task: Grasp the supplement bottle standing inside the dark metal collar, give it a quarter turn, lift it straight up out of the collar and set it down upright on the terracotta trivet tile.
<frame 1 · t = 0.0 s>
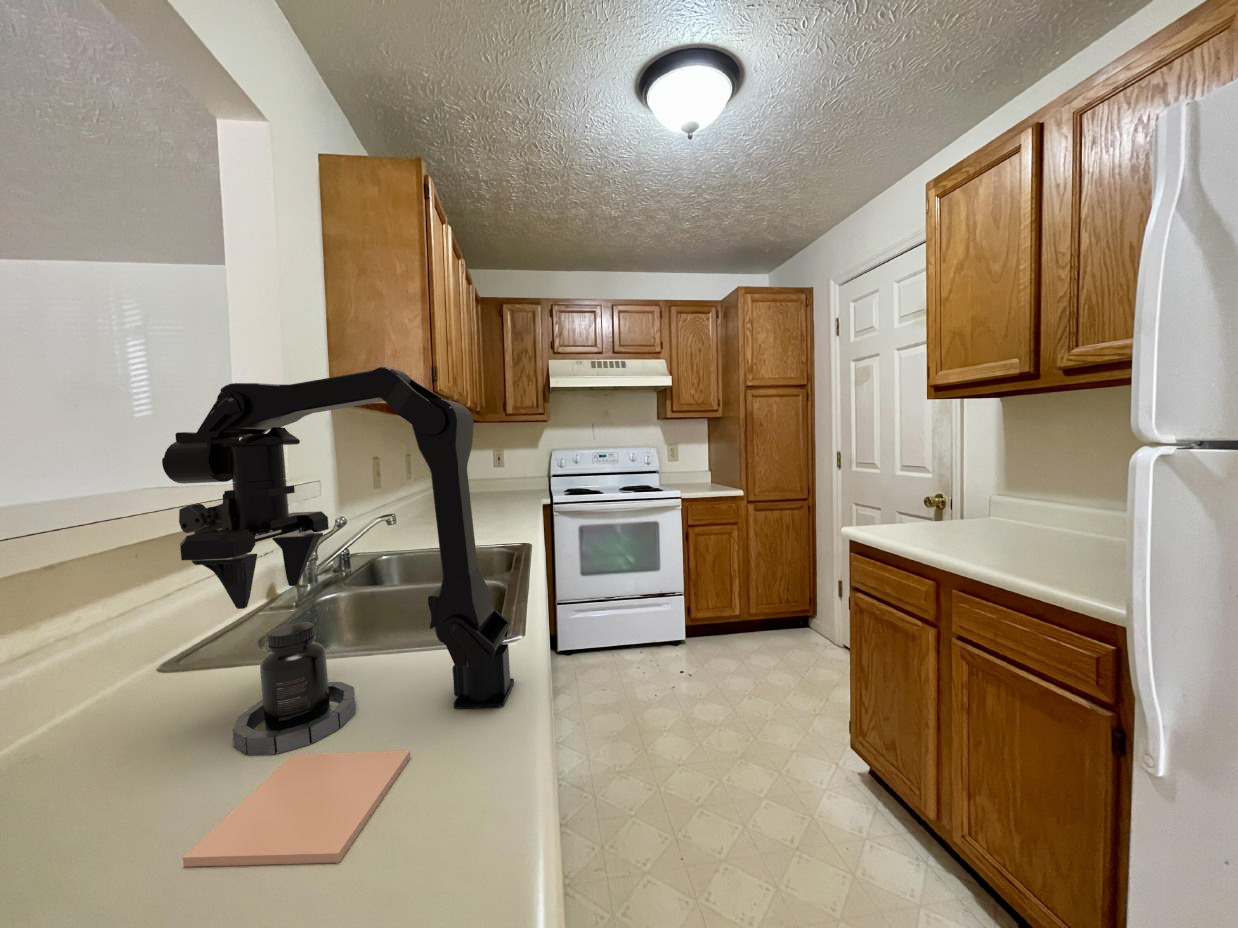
hand: (269, 596, 65), 15 cm above the countertop, fingers open, 9 cm apart
collar: (299, 722, 60), on the countertop
trivet tile: (312, 804, 46), on the countertop
supplement bottle: (299, 724, 60), resting in collar
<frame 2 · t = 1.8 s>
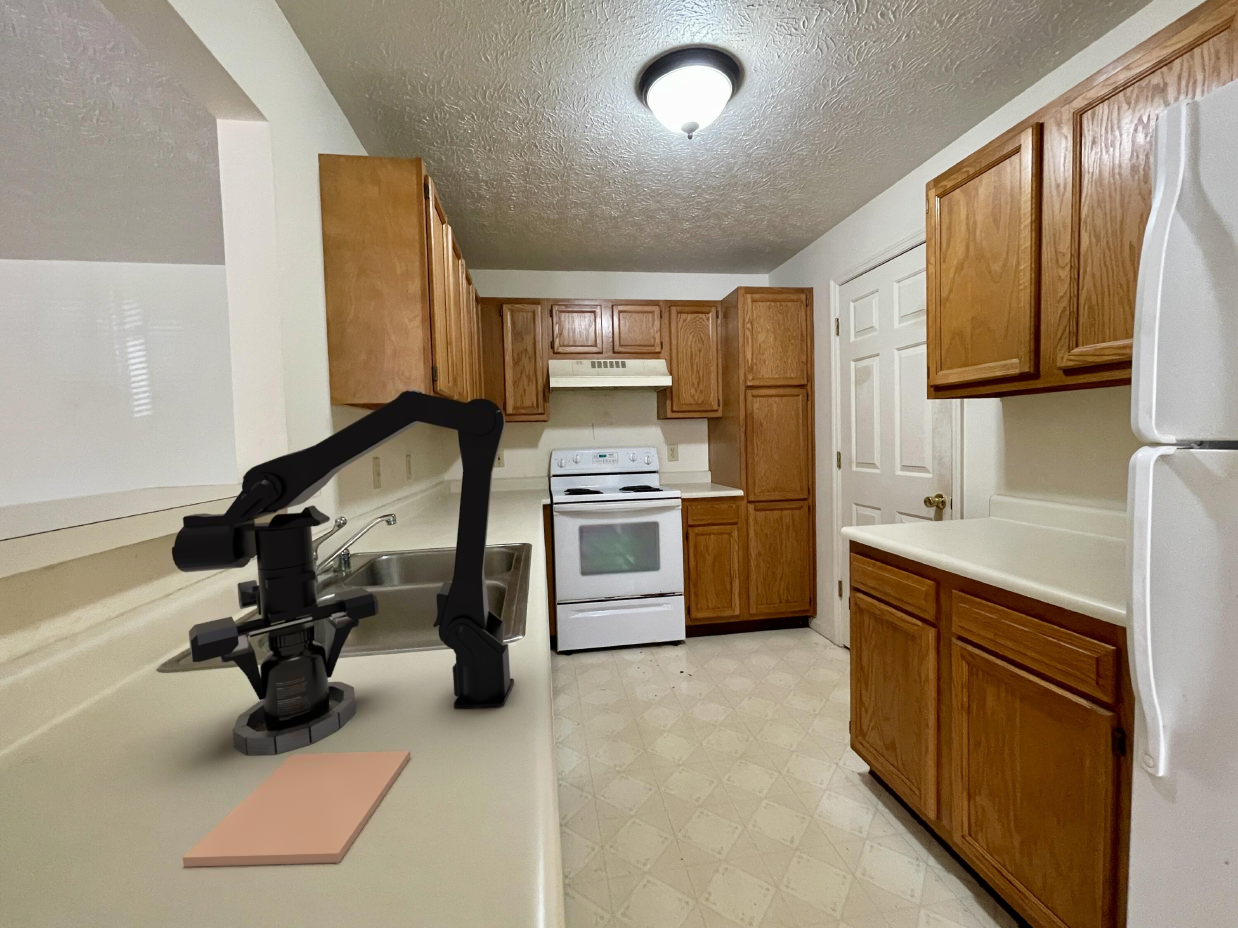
hand: (296, 687, 60), 5 cm above the countertop, fingers closed on supplement bottle, 7 cm apart
supplement bottle: (299, 724, 60), resting in collar, touching gripper
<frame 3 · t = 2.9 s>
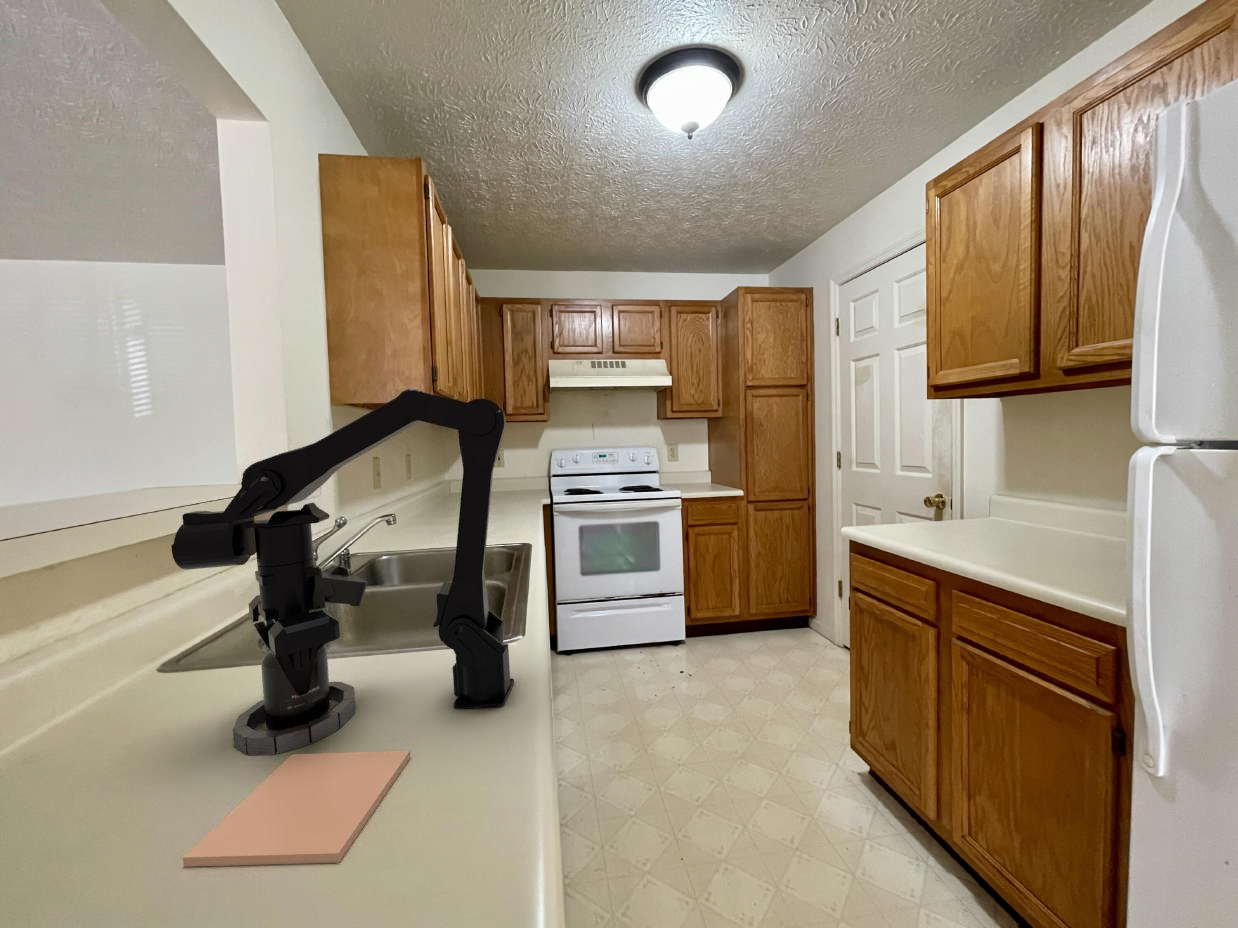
hand: (296, 684, 60), 5 cm above the countertop, fingers closed on supplement bottle, 7 cm apart
supplement bottle: (300, 721, 60), resting in collar, touching gripper
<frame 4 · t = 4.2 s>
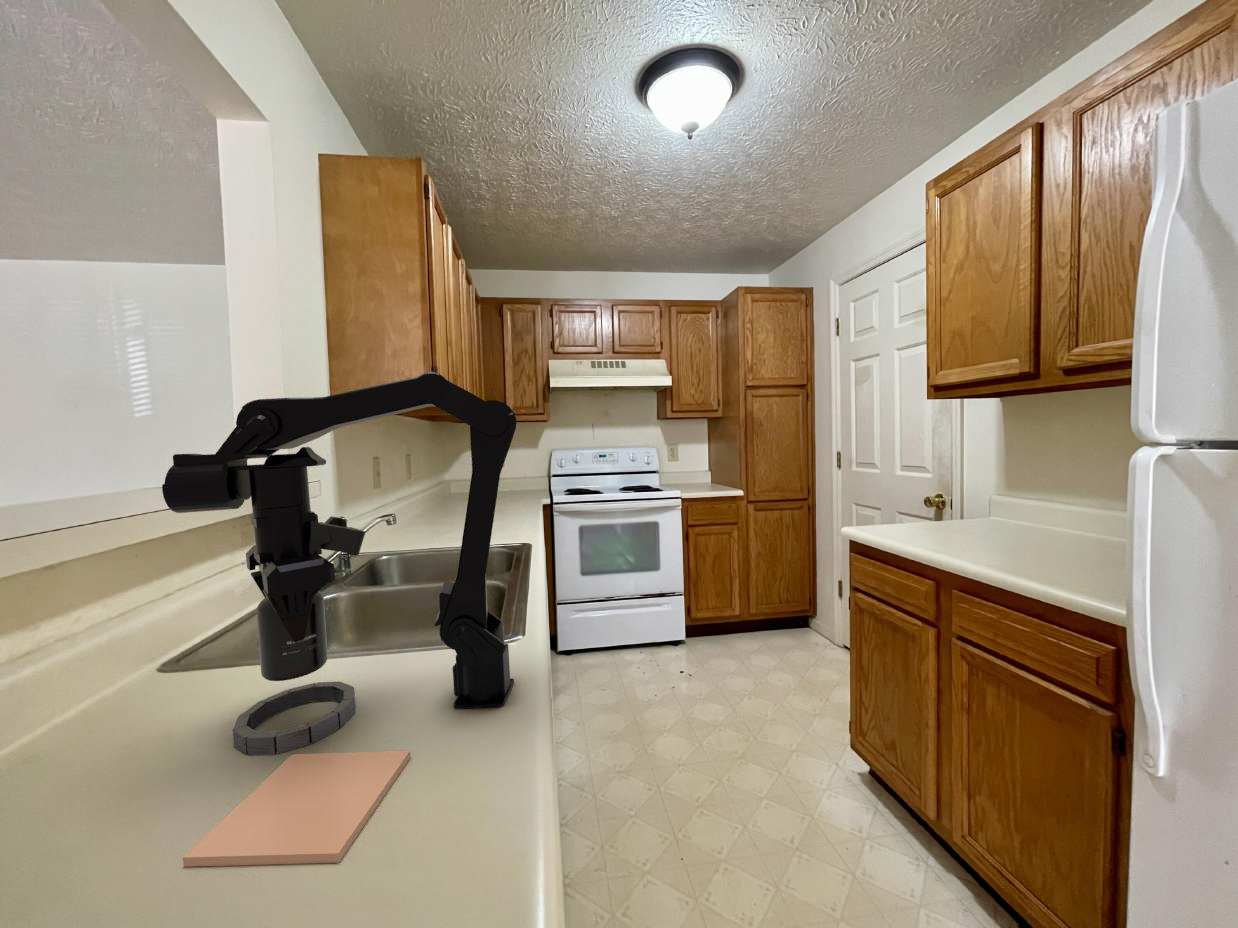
hand: (293, 632, 59), 12 cm above the countertop, fingers closed on supplement bottle, 7 cm apart
supplement bottle: (296, 670, 59), point 7 cm above the countertop, touching gripper
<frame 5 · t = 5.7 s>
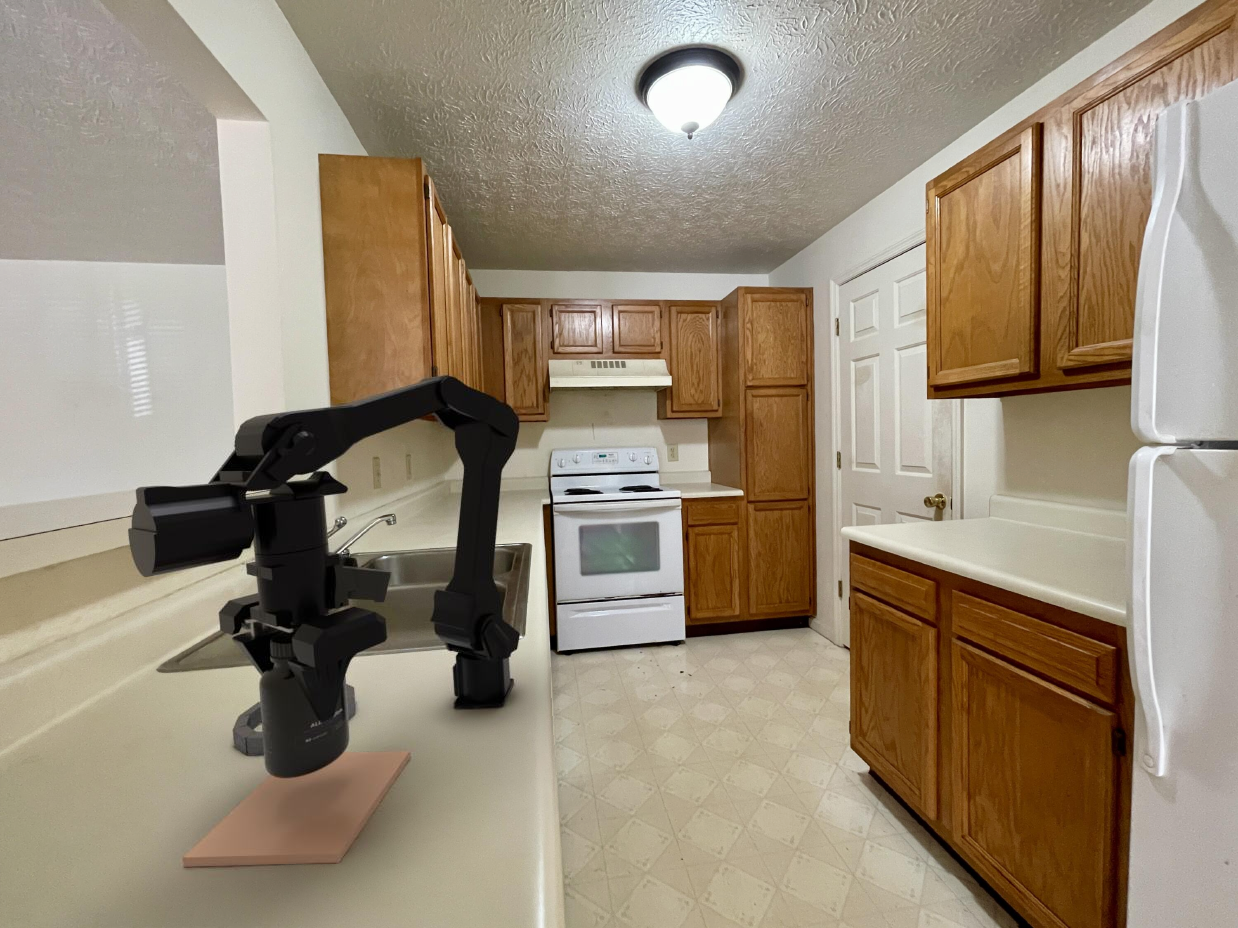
hand: (306, 709, 46), 9 cm above the countertop, fingers closed on supplement bottle, 7 cm apart
supplement bottle: (310, 758, 46), point 5 cm above the countertop, touching gripper
when the fingers open (7 cm above the countertop, at t = 6.6 s): supplement bottle drops 1 cm, resting on trivet tile.
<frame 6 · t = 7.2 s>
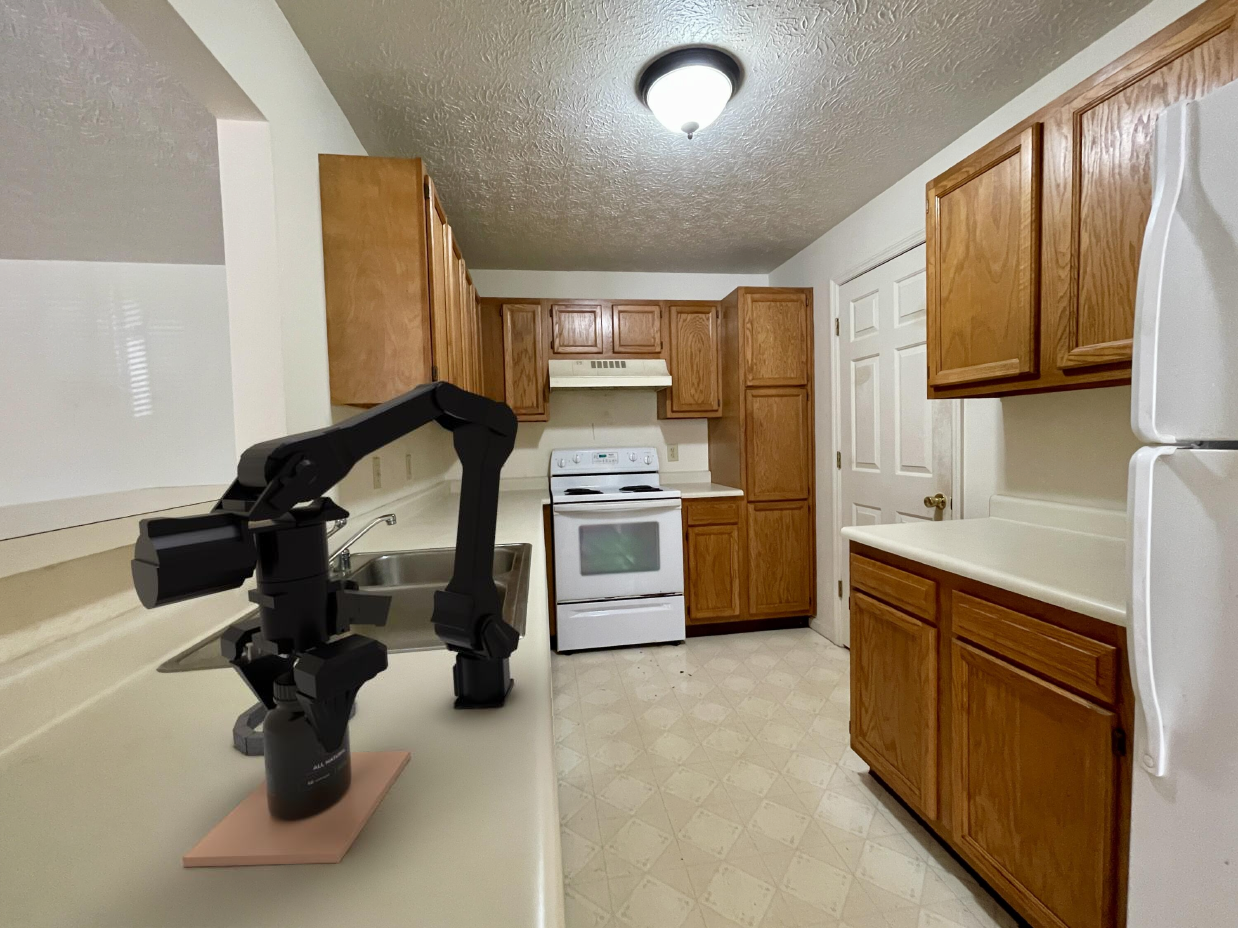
hand: (307, 735, 46), 7 cm above the countertop, fingers open, 9 cm apart
supplement bottle: (312, 797, 46), point 1 cm above the countertop, touching trivet tile
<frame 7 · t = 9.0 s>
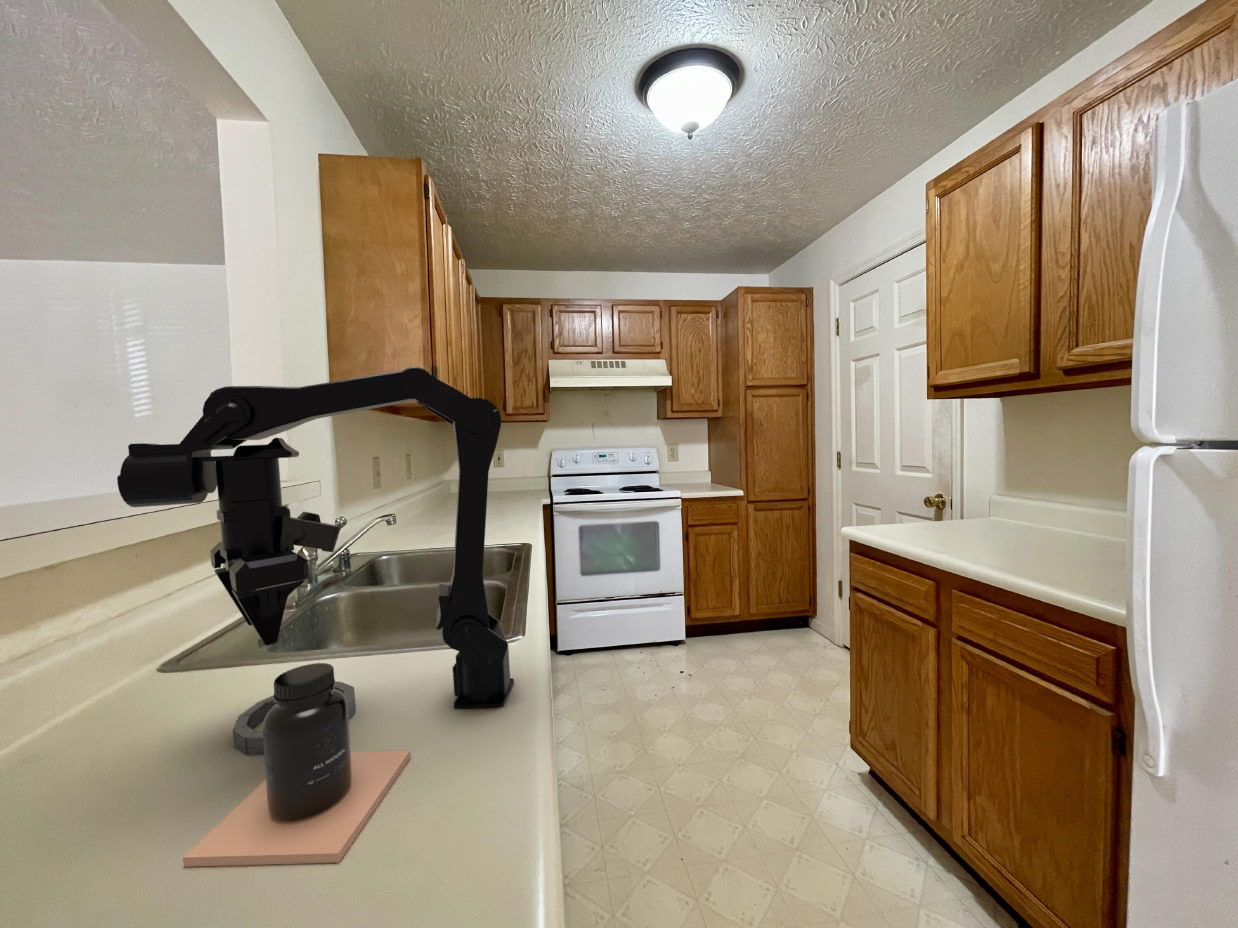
hand: (262, 633, 56), 13 cm above the countertop, fingers open, 9 cm apart
nothing on the countertop moved.
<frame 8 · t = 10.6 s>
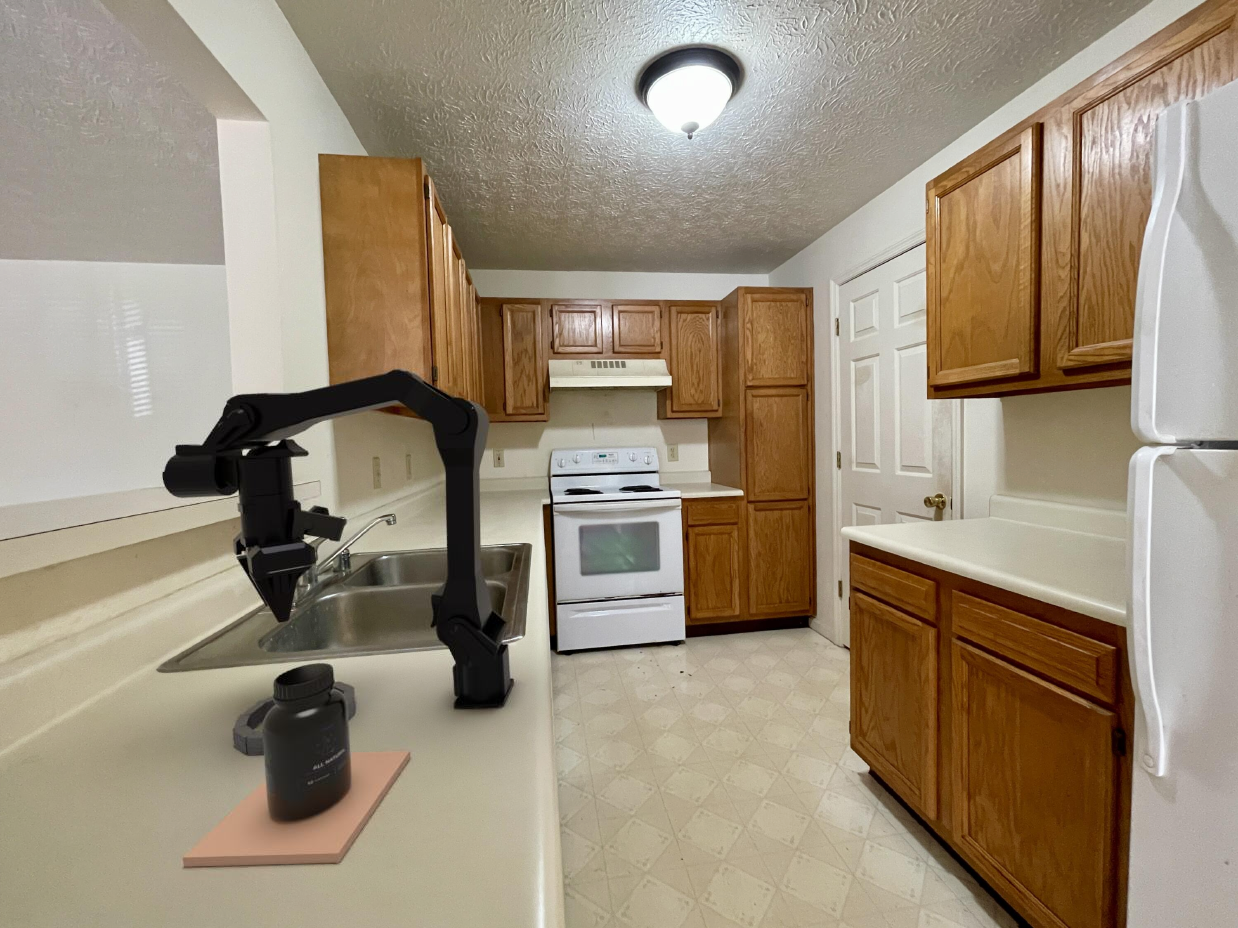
hand: (276, 613, 63), 13 cm above the countertop, fingers open, 9 cm apart
nothing on the countertop moved.
at the end: supplement bottle inside the target area on the trivet tile (0.1 cm from its centre), point 0.6 cm above the trivet tile's base; supplement bottle tilted 0°; the gripper is holding nothing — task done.
